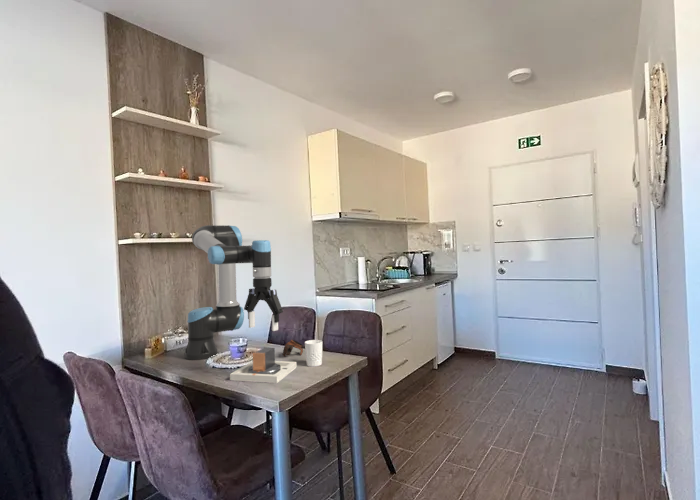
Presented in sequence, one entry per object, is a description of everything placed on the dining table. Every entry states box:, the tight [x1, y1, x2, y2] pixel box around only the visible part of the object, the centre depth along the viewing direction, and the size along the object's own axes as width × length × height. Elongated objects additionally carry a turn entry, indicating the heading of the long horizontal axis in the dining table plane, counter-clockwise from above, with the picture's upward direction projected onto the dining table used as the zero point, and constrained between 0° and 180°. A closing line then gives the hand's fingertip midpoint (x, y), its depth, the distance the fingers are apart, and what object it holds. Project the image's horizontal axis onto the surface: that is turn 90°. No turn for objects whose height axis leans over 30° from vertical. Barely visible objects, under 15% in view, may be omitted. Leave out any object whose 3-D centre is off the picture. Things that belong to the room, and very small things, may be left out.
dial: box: [248, 347, 281, 375], centre depth 162 cm, size 13×13×9 cm
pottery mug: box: [282, 339, 305, 357], centre depth 190 cm, size 12×10×8 cm
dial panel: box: [229, 360, 297, 384], centre depth 162 cm, size 20×20×3 cm
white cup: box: [304, 339, 323, 367], centre depth 174 cm, size 8×8×10 cm
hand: (263, 328), depth 163 cm, fingers open, 13 cm apart
